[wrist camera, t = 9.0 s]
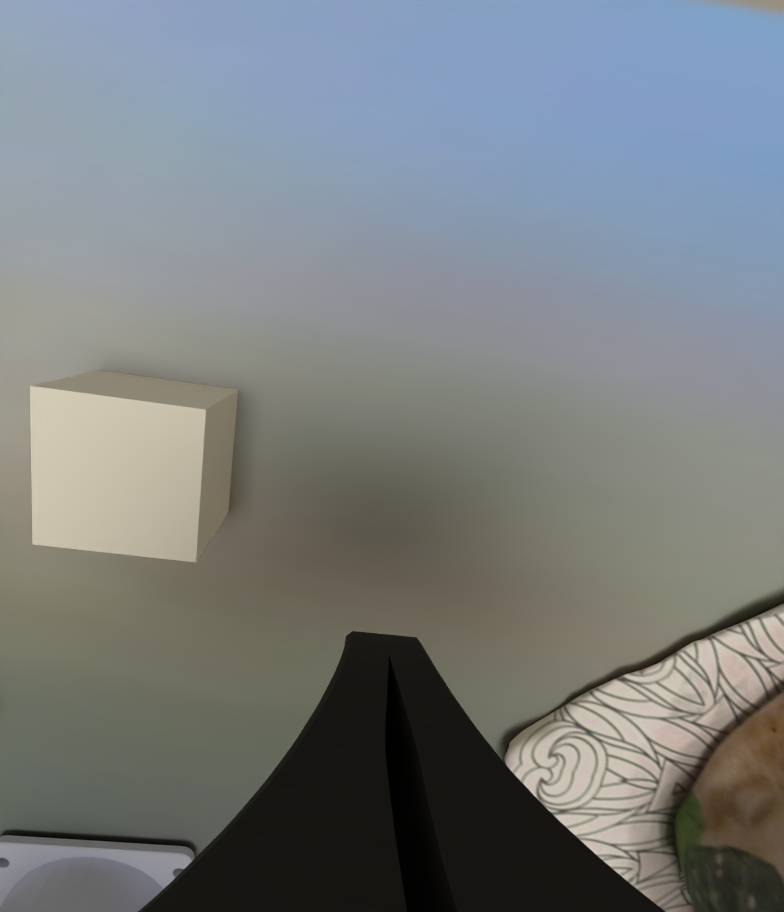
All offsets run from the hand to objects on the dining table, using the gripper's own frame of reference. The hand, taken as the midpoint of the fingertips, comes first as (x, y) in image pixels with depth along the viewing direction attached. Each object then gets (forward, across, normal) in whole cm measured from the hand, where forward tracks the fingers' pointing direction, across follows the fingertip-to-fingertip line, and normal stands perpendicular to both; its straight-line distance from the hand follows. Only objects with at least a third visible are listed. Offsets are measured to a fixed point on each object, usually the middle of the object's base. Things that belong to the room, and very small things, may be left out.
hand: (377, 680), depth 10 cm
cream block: (+10, +7, -1) cm, 12 cm away
